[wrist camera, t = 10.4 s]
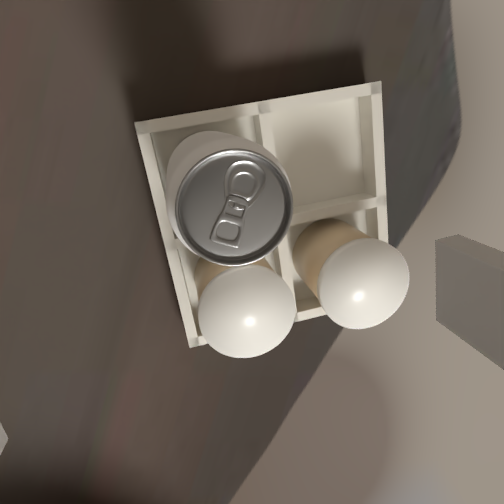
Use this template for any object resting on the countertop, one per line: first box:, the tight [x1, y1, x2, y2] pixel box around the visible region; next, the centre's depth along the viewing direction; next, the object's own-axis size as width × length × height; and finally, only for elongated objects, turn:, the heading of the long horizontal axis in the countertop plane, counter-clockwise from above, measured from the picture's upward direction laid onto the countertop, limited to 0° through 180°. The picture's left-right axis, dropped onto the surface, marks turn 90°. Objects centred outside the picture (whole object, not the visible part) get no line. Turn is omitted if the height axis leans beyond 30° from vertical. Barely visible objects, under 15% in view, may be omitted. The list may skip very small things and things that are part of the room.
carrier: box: [134, 81, 388, 348], centre depth 31 cm, size 17×17×2 cm
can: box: [166, 131, 293, 266], centre depth 24 cm, size 6×6×12 cm
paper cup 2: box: [292, 218, 409, 329], centre depth 31 cm, size 6×6×7 cm
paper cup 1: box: [195, 257, 296, 358], centre depth 30 cm, size 6×6×7 cm
